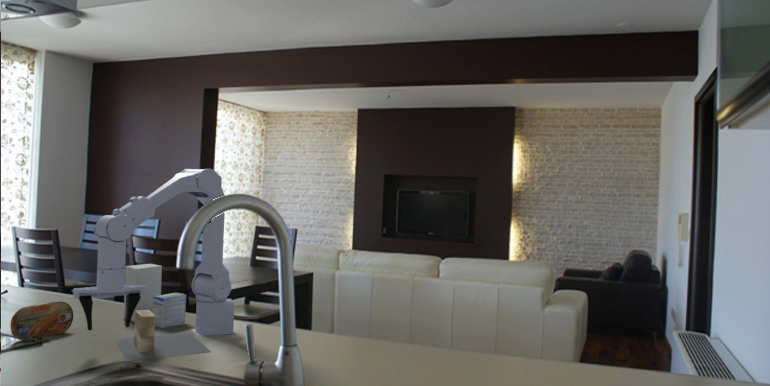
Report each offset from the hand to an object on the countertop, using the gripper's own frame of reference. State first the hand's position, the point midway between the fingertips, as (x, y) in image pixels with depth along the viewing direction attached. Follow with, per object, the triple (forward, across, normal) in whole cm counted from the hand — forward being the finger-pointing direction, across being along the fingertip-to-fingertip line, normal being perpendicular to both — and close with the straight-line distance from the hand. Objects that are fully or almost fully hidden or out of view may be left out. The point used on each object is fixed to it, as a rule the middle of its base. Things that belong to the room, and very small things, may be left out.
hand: (108, 327), depth 127 cm
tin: (+6, +12, -22) cm, 26 cm away
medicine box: (+6, -18, -22) cm, 29 cm away
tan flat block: (+5, -8, 0) cm, 9 cm away
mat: (+6, -12, 0) cm, 13 cm away
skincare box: (+6, -13, -34) cm, 37 cm away
